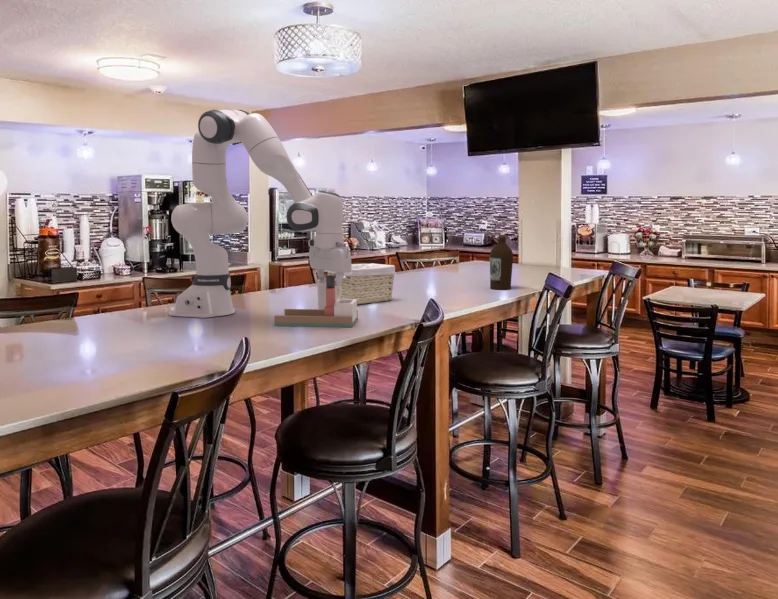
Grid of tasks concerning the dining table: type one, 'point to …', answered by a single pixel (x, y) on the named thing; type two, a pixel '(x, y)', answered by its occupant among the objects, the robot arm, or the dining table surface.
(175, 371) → the dining table surface
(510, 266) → the olive oil
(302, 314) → the board
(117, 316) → the dining table surface
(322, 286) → the mug
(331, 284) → the post
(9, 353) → the dining table surface
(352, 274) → the storage basket
